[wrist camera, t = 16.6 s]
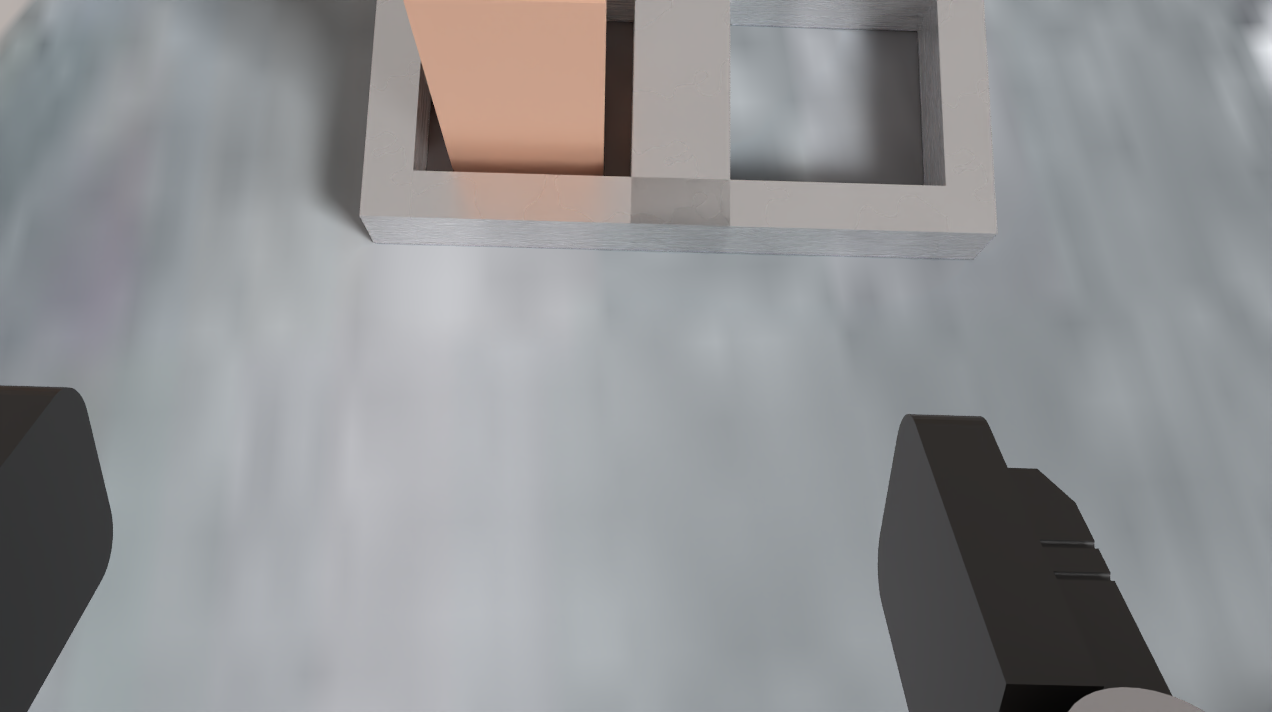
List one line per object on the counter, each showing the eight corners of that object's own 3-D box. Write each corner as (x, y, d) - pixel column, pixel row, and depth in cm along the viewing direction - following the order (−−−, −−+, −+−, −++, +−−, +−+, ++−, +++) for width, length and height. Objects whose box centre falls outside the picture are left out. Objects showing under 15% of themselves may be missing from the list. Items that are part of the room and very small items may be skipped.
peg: (461, 42, 34) (413, -176, 25) (605, 46, 34) (608, -170, 25) (454, 176, 33) (402, -2, 24) (603, 180, 33) (605, 3, 24)
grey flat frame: (959, -8, 34) (980, -48, 32) (973, 259, 32) (997, 233, 30) (394, -27, 34) (382, -68, 32) (374, 243, 32) (359, 215, 30)
